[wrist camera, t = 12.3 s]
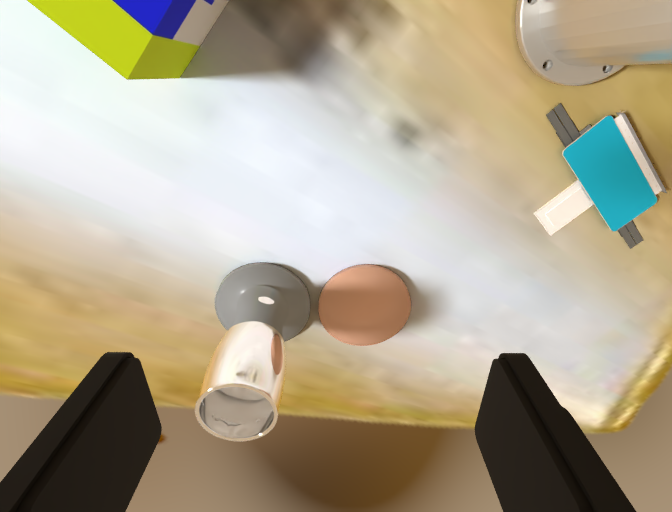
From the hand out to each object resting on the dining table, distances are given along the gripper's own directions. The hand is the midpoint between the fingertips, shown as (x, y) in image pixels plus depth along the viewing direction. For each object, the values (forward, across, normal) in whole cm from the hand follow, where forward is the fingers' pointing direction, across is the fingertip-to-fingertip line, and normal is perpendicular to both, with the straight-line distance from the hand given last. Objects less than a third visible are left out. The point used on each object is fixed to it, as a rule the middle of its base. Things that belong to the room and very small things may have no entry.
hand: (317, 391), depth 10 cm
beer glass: (+28, +8, +17) cm, 34 cm away
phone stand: (+31, -28, +4) cm, 42 cm away
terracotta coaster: (+29, -4, +18) cm, 35 cm away
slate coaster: (+29, +8, +17) cm, 35 cm away
